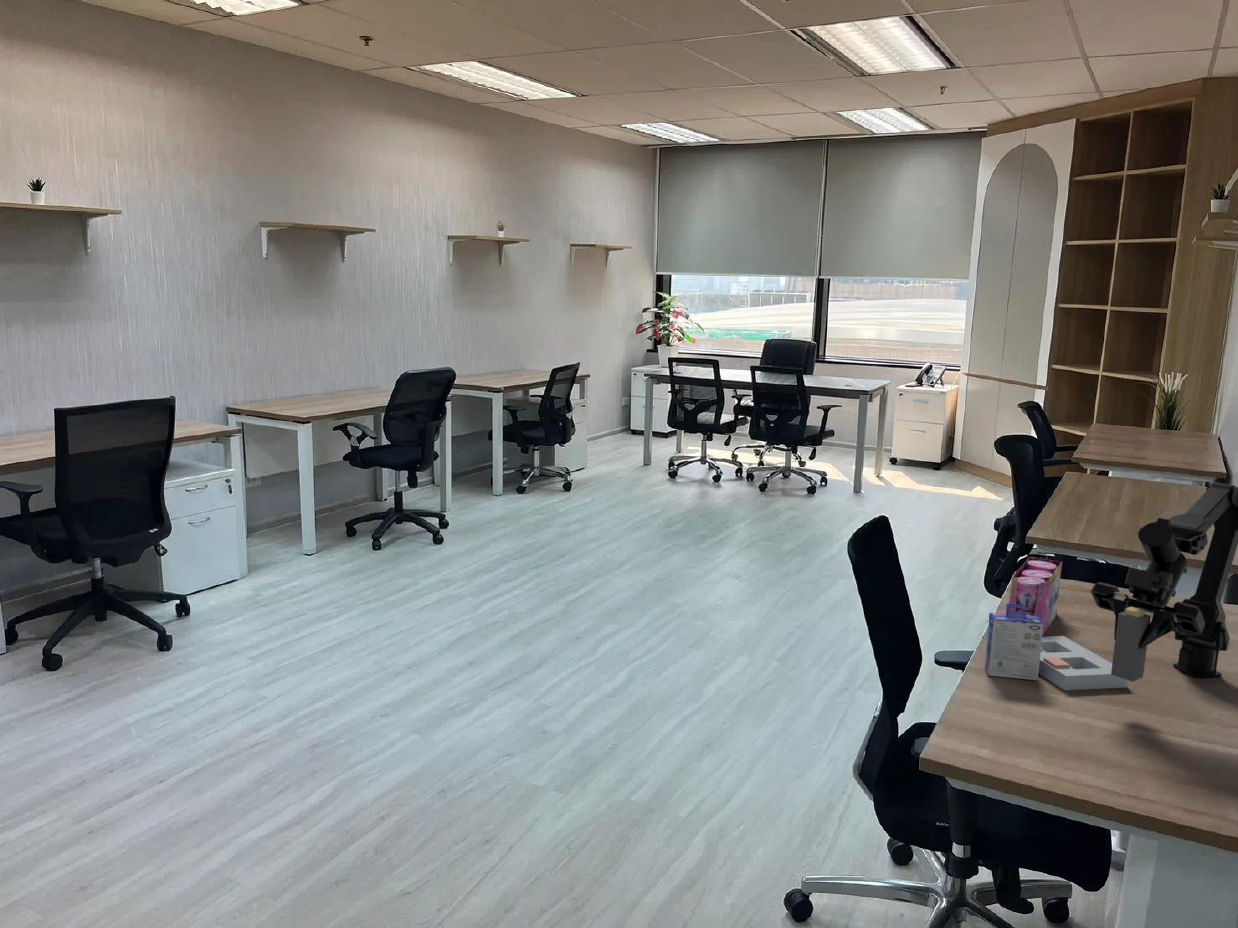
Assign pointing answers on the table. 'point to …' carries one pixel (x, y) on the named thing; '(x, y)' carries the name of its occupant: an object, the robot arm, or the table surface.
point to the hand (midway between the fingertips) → (1127, 643)
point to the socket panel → (1075, 666)
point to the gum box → (1037, 588)
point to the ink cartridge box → (1014, 644)
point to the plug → (1130, 644)
